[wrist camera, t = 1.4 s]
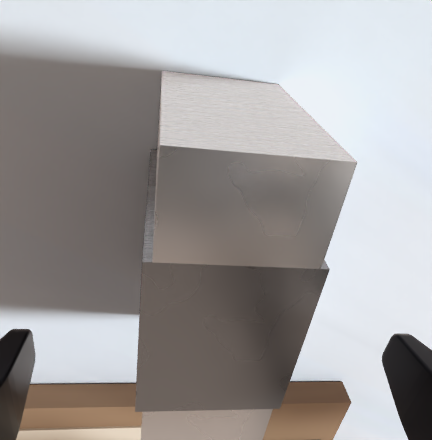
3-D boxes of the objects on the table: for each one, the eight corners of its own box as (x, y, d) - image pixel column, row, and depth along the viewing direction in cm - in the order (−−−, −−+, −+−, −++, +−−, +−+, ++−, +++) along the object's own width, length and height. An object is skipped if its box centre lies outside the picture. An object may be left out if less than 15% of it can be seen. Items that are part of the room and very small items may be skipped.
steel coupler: (234, 317, 18) (262, 456, 12) (142, 315, 17) (132, 462, 12) (284, 84, 12) (367, 163, 7) (155, 69, 12) (147, 144, 7)
